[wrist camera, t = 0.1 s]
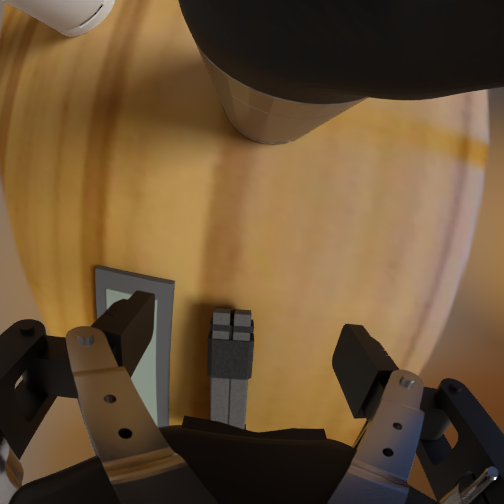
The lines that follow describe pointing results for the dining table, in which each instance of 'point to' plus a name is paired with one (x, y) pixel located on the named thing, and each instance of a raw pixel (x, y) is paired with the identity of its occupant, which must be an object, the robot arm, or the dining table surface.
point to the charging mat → (158, 351)
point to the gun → (230, 365)
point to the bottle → (66, 13)
